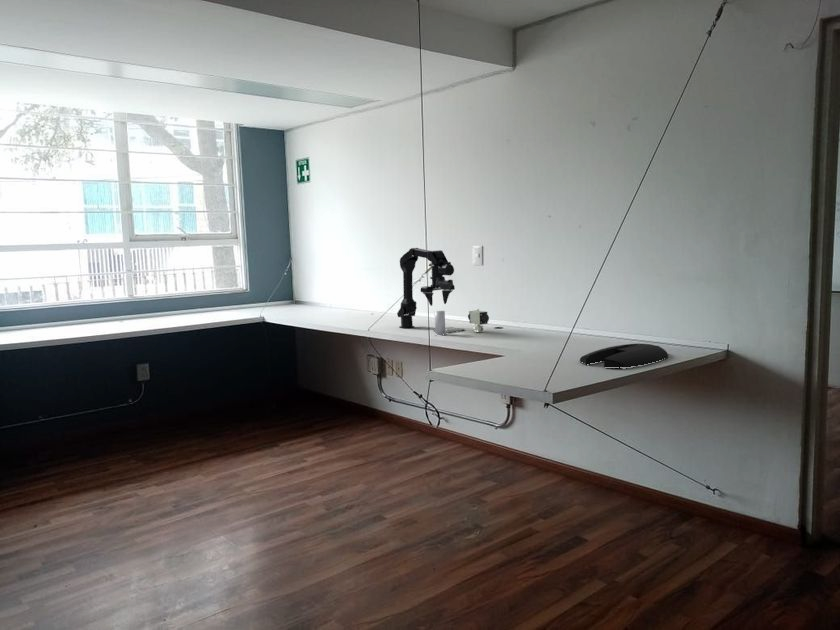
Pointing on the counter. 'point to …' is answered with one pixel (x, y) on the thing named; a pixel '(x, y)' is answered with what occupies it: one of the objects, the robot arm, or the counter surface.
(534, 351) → the counter surface
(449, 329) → the flange plate
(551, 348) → the counter surface
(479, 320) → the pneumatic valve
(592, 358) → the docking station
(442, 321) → the grey cylinder
